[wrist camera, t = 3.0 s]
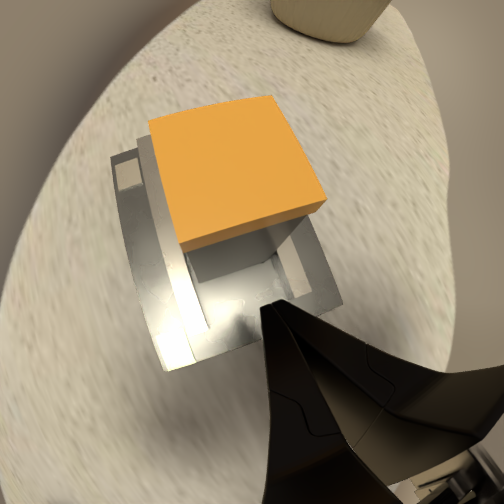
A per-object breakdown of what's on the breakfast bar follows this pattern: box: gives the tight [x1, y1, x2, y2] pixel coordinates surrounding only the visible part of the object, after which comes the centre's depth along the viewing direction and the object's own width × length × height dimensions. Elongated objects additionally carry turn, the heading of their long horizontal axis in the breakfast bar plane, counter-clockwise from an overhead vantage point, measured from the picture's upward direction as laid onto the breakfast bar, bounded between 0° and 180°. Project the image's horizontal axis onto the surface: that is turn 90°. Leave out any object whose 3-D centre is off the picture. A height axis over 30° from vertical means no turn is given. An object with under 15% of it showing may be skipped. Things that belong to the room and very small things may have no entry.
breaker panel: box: [110, 135, 343, 372], centre depth 16 cm, size 14×11×4 cm
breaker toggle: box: [148, 95, 327, 283], centre depth 11 cm, size 4×4×8 cm
